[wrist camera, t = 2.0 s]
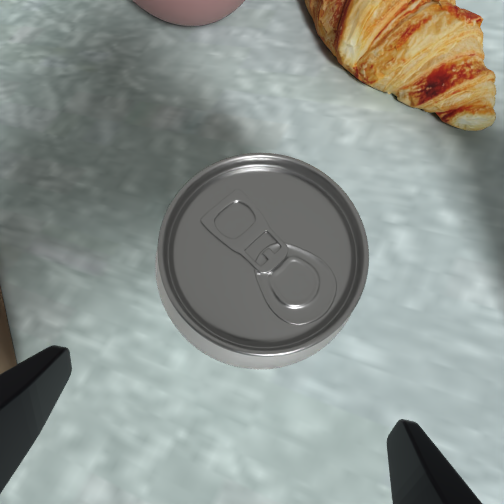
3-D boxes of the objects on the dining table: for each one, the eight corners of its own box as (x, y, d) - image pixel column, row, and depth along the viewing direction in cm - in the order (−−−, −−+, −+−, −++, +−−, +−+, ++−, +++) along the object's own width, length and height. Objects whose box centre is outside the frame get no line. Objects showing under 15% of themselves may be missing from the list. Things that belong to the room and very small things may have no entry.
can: (243, 382, 19) (263, 439, 7) (170, 300, 20) (87, 238, 8) (319, 304, 20) (433, 251, 9) (247, 232, 21) (266, 100, 10)
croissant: (465, 146, 29) (570, 59, 23) (431, 174, 22) (567, 64, 16) (306, -8, 32) (362, -119, 26) (237, -22, 25) (290, -175, 19)
